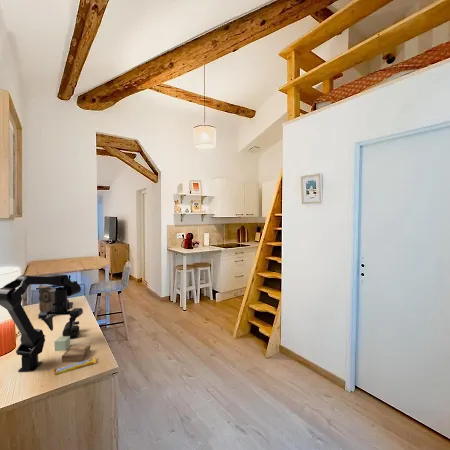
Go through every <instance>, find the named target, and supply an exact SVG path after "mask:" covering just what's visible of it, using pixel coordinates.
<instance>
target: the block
mask: <svg viewBox="0 0 450 450" xmlns="http://www.w3.org/2000/svg"><path fill="white" fill-rule="evenodd" d="M70 347H71V339H70V336H64V337H63V336H59V337H58V338H56V339H55V340H54V351H55V352H63V351H64V352H66V351H67V350H68V349H69V348H70Z"/></svg>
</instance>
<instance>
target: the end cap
mask: <svg viewBox="0 0 450 450" xmlns="http://www.w3.org/2000/svg"><path fill="white" fill-rule="evenodd" d="M79 325H80V321H79V320H78V321H75V322H74V325H73V328H72V330H70V321H68V322H66V324H65V325H64V328H63V330H62V335H61V336H62V337H64V336H70V340H74V339H78V338H79V335H80V326H79Z"/></svg>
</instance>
